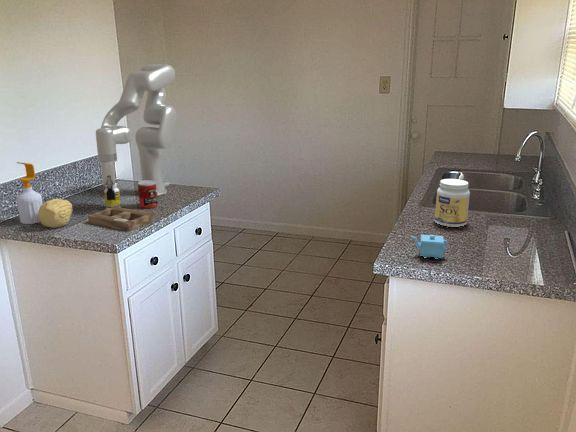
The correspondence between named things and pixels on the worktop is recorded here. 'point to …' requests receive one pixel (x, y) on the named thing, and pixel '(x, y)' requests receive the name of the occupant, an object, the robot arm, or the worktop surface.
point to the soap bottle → (29, 198)
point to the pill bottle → (113, 202)
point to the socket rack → (121, 218)
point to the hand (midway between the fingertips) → (111, 196)
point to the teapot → (431, 246)
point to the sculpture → (55, 213)
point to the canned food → (147, 194)
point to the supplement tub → (452, 203)
